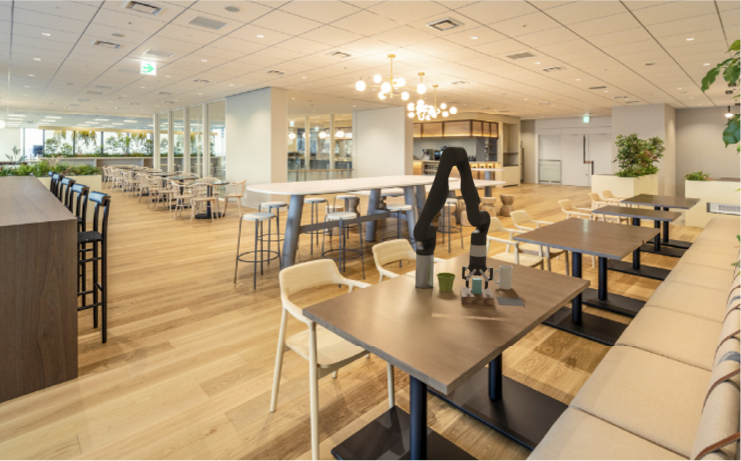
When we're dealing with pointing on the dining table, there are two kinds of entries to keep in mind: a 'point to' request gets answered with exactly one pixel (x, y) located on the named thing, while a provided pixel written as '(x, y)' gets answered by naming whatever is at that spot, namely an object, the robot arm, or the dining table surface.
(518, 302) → the mat
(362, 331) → the dining table surface
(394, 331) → the dining table surface
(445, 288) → the plant pot
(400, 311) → the dining table surface
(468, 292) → the pocket block
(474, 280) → the peg
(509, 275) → the mug
